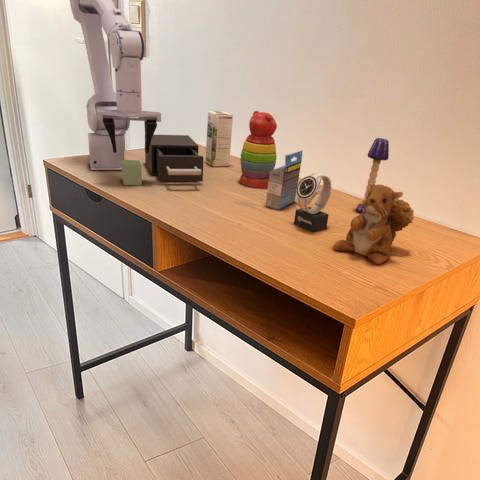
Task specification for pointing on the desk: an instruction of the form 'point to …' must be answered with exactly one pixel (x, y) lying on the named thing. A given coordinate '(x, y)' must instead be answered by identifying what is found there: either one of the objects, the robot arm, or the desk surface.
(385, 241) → the stuffed squirrel
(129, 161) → the block
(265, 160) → the stacking bear
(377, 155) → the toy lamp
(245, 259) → the desk surface
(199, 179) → the black drawer
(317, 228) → the watch
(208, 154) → the syrup box
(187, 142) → the small drawer cabinet
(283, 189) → the label tape box
